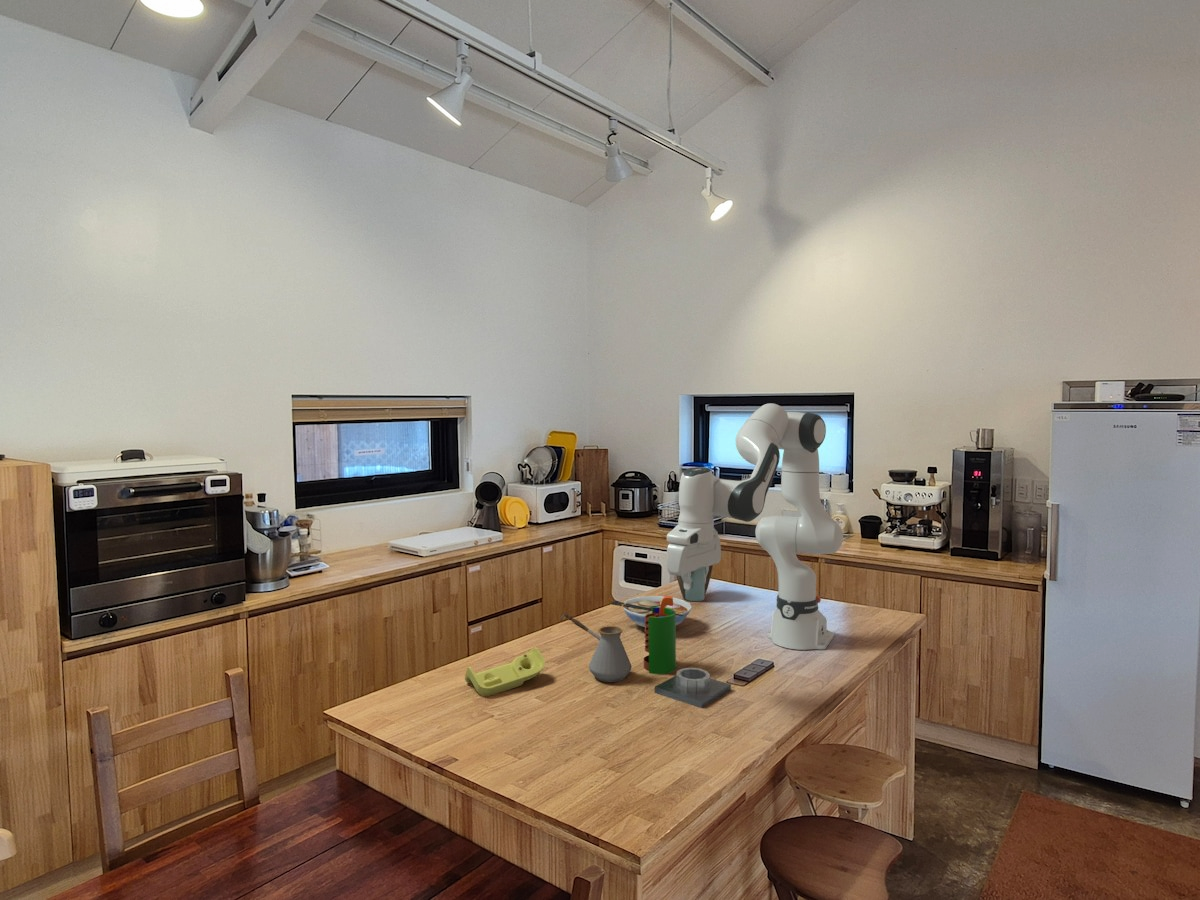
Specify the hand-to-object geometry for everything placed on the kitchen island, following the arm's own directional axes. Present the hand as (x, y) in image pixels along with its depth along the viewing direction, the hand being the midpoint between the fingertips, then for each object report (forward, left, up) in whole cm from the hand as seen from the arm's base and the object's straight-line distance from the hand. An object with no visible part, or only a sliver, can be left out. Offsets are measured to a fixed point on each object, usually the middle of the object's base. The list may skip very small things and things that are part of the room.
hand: (694, 586), depth 181 cm
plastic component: (+28, -40, -28) cm, 56 cm away
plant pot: (-72, -46, -28) cm, 90 cm away
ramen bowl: (-36, -37, -28) cm, 59 cm away
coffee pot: (+7, -27, -28) cm, 39 cm away
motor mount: (0, 0, -27) cm, 27 cm away
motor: (-8, -16, -28) cm, 33 cm away
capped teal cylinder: (0, 0, -3) cm, 3 cm away
